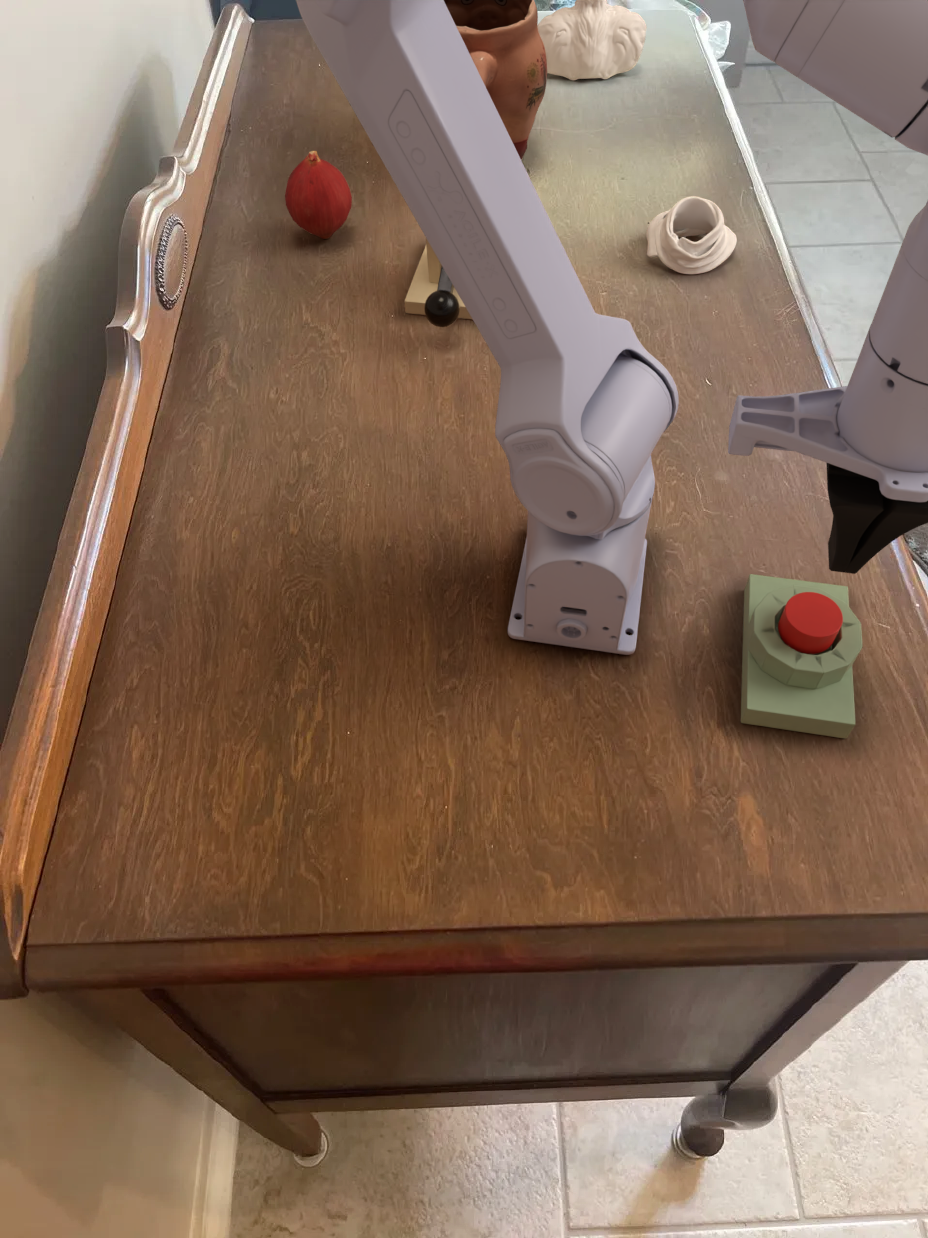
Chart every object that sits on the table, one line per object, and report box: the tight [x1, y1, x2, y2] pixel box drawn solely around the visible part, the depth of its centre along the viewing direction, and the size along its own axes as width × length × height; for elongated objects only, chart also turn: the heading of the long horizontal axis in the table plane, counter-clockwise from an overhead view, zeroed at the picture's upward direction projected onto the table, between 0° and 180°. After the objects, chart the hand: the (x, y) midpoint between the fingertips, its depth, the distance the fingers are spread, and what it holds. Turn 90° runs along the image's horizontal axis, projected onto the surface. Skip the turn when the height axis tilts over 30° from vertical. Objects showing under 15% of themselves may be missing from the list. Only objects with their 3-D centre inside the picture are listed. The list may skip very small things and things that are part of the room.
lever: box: [424, 266, 460, 328], centre depth 74 cm, size 12×3×3 cm, turn 169°
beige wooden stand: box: [403, 237, 473, 320], centre depth 76 cm, size 10×8×9 cm
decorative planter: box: [444, 0, 548, 161], centre depth 86 cm, size 20×12×14 cm, turn 3°
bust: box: [537, 0, 648, 81], centre depth 99 cm, size 12×8×11 cm
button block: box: [740, 573, 863, 740], centre depth 55 cm, size 10×6×4 cm, turn 169°
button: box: [778, 592, 843, 654], centre depth 53 cm, size 3×3×2 cm
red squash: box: [284, 150, 353, 240], centre depth 81 cm, size 6×6×8 cm
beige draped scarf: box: [645, 195, 738, 275], centre depth 80 cm, size 8×7×5 cm
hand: (842, 557), depth 48 cm, fingers closed
